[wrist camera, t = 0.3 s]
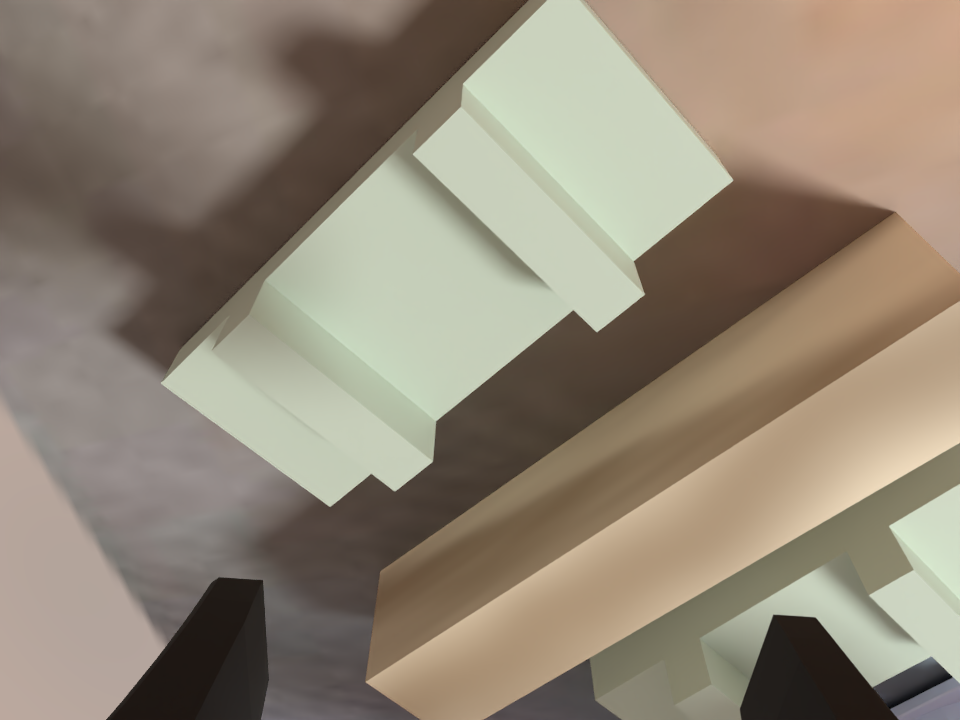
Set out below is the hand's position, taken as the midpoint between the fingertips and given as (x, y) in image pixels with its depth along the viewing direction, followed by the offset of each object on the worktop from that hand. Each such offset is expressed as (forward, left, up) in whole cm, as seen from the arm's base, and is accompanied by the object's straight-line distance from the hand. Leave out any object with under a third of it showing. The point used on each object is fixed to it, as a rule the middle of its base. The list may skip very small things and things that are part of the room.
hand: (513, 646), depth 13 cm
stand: (-5, 0, -10) cm, 11 cm away
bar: (-5, 0, -10) cm, 11 cm away
